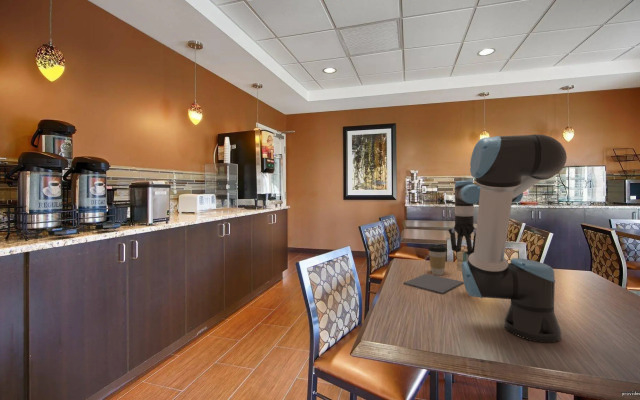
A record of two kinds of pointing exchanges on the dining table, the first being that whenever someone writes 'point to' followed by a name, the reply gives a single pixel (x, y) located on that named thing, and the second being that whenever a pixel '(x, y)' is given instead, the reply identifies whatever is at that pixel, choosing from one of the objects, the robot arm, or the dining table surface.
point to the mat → (434, 283)
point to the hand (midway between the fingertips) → (464, 267)
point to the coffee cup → (437, 259)
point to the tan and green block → (461, 258)
